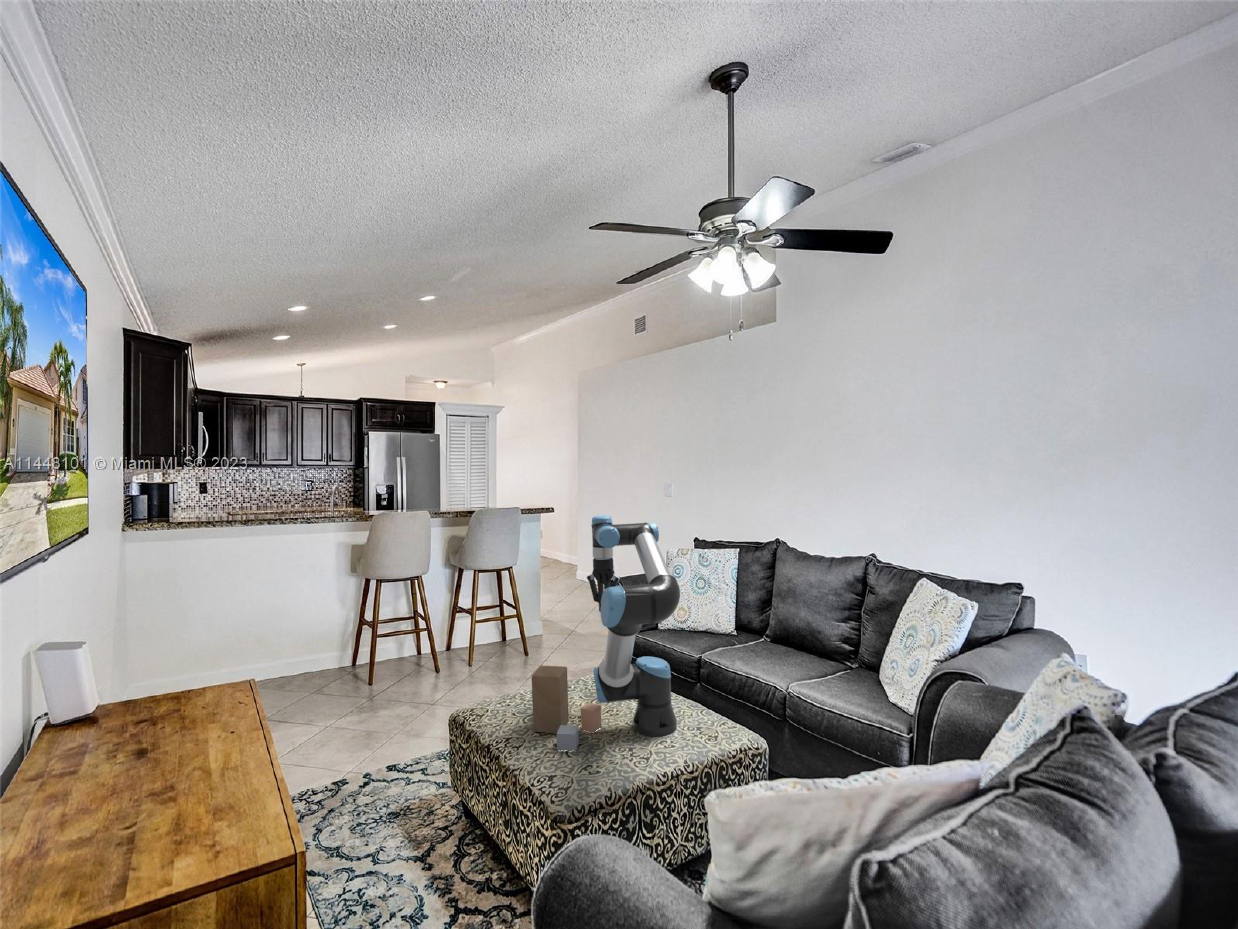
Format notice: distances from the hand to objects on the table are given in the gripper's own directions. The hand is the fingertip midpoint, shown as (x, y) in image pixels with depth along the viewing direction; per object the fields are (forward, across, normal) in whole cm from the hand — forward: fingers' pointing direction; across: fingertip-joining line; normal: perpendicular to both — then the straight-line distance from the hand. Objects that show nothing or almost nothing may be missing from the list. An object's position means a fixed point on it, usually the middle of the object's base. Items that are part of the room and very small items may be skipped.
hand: (604, 620), depth 235 cm
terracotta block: (+33, -2, +19) cm, 38 cm away
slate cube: (+33, 0, +33) cm, 46 cm away
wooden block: (+33, +12, +22) cm, 41 cm away
